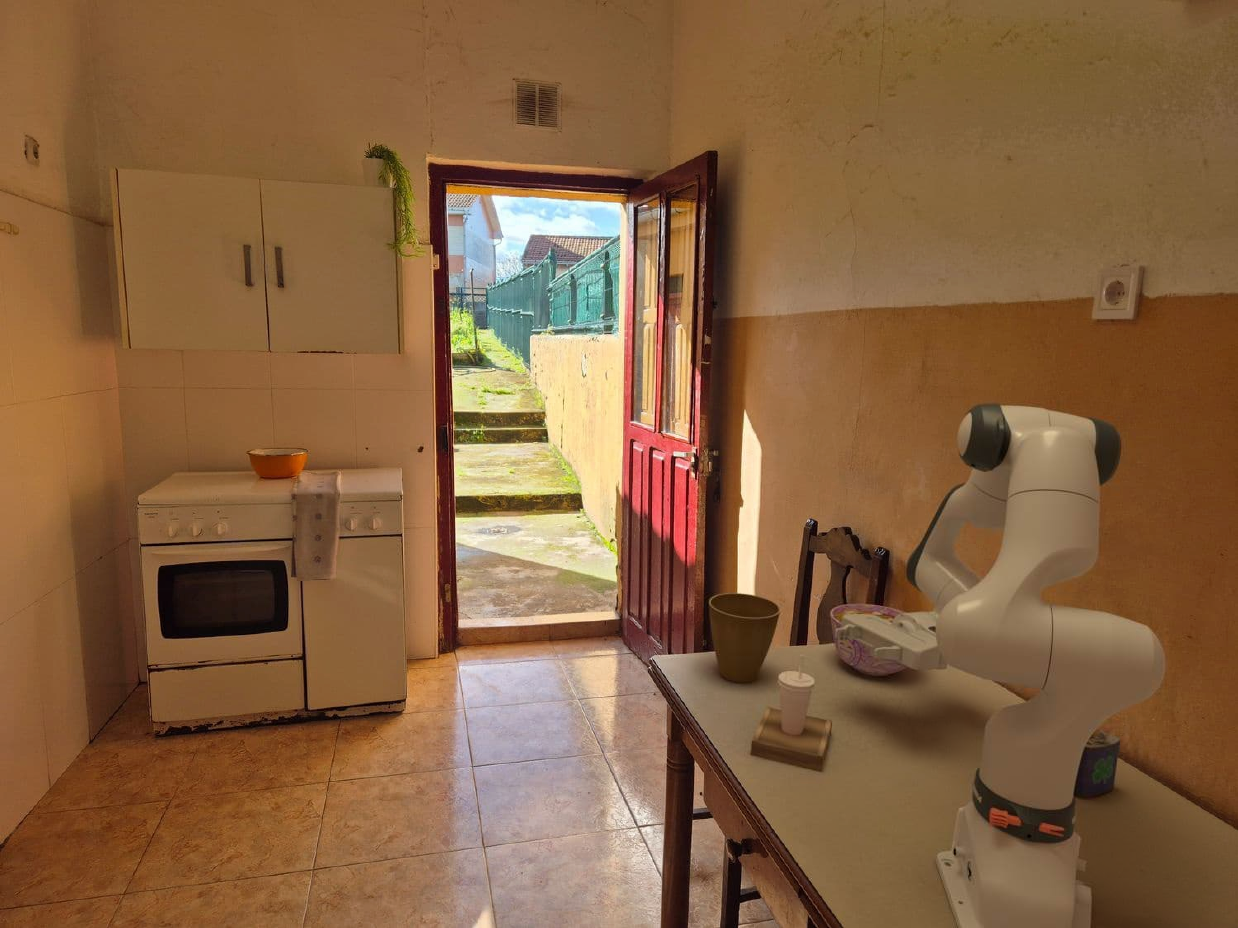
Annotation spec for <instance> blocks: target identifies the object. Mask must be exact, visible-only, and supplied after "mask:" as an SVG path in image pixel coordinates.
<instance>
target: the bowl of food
mask: <svg viewBox="0 0 1238 928" xmlns="http://www.w3.org/2000/svg"><path fill="white" fill-rule="evenodd" d="M903 613H907V612H905V611H903V610H898V609H895V608H892V607H888V606H884V605H883V606H882V605H877V604H870V603H869V604H867V603H848V604H842V605H838V606H835V607H833V608H832V609H831V610H830V612H829V616H830V622H831V628H832V629H831V630H832V635H833V636H832V637H833V641H834V646H835V647H834V648H835V650H836V652H837V654H838V656H839V658H840V659H841V660H842V661H843V662H845V663H846V664H847V665H849V666H850V667H853V669H854V670H855V671H857V672H859V673H861V674H864V675H867V676H873V677H874V676H875V677H884V676H888V675H889V674H891V675H892V674H895V673H899V672H901V671H903V670H904V669H906V668H908V666H906V665H904V664H902V663H900V662H898V661H896V660H890V659H884V658H882V659H876V658H874V657H872V656H871V655H870V652H871V648H870V647H868V646H866V645H864V644H862V643H860V642H858V641H856V640H854V639H852V638H850V637H847V640H840V639H838V638H836V637H835V631H836V629H838V628H841V620H842V617H843V616H844V615H847V614H872V615H876V616H878V617H881V618H883V619H885V620H887V621H889V622H892V620H893V619H894V618H895V617H896V616H897V615H899V614H903Z"/></svg>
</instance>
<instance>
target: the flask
mask: <svg viewBox="0 0 1238 928" xmlns="http://www.w3.org/2000/svg"><path fill="white" fill-rule="evenodd" d="M1096 731H1097V732H1098V734H1096V735H1095V736H1094V738H1091V739H1090V738H1089V740H1088V742H1087V743H1086V745H1085V748H1084V750H1083V753H1082V757H1081V760H1080V764H1079V768H1078V772H1077V777H1076V782H1075V787H1074V793H1073V795H1074V796H1075V799H1079V800H1080V799H1081V800H1089V799H1094V798H1099V797H1101V796H1104V795H1107V794H1108V793H1111V792H1112V791H1113V789H1114V786H1115V779H1116V772H1117V771H1116V770H1117V766H1118V759H1119V752H1120V746H1121V738H1119V737H1118V736H1116V735H1114V734H1110V733H1109V734H1108V733H1107V732H1106V731H1103V730H1102V729H1098V728H1097V729H1096Z"/></svg>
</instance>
